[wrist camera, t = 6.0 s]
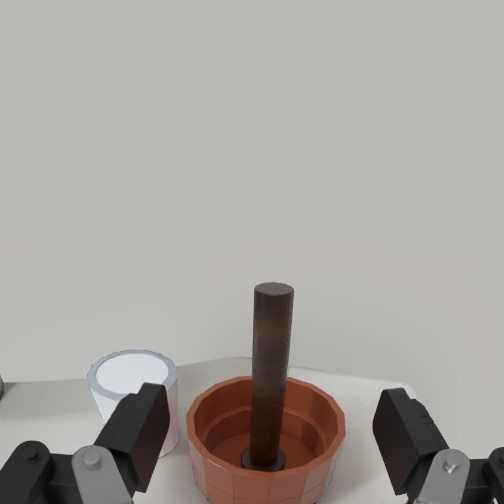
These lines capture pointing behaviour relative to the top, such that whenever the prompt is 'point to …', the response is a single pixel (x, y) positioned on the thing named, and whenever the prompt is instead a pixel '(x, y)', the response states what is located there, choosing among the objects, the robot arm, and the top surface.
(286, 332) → the brown wooden pestle
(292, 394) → the bowl
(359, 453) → the top surface
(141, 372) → the white cylinder
